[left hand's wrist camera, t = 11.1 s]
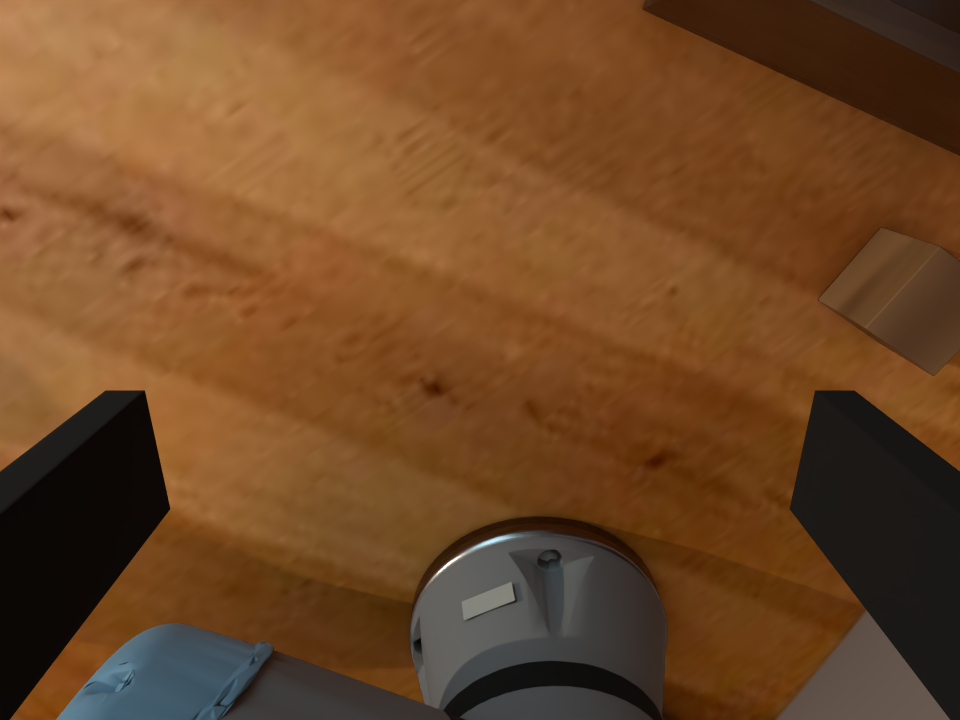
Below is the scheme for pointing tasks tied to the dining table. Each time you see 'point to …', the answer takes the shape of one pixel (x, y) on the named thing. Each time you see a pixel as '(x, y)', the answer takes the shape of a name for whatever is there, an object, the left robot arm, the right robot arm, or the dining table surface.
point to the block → (902, 298)
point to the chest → (848, 52)
